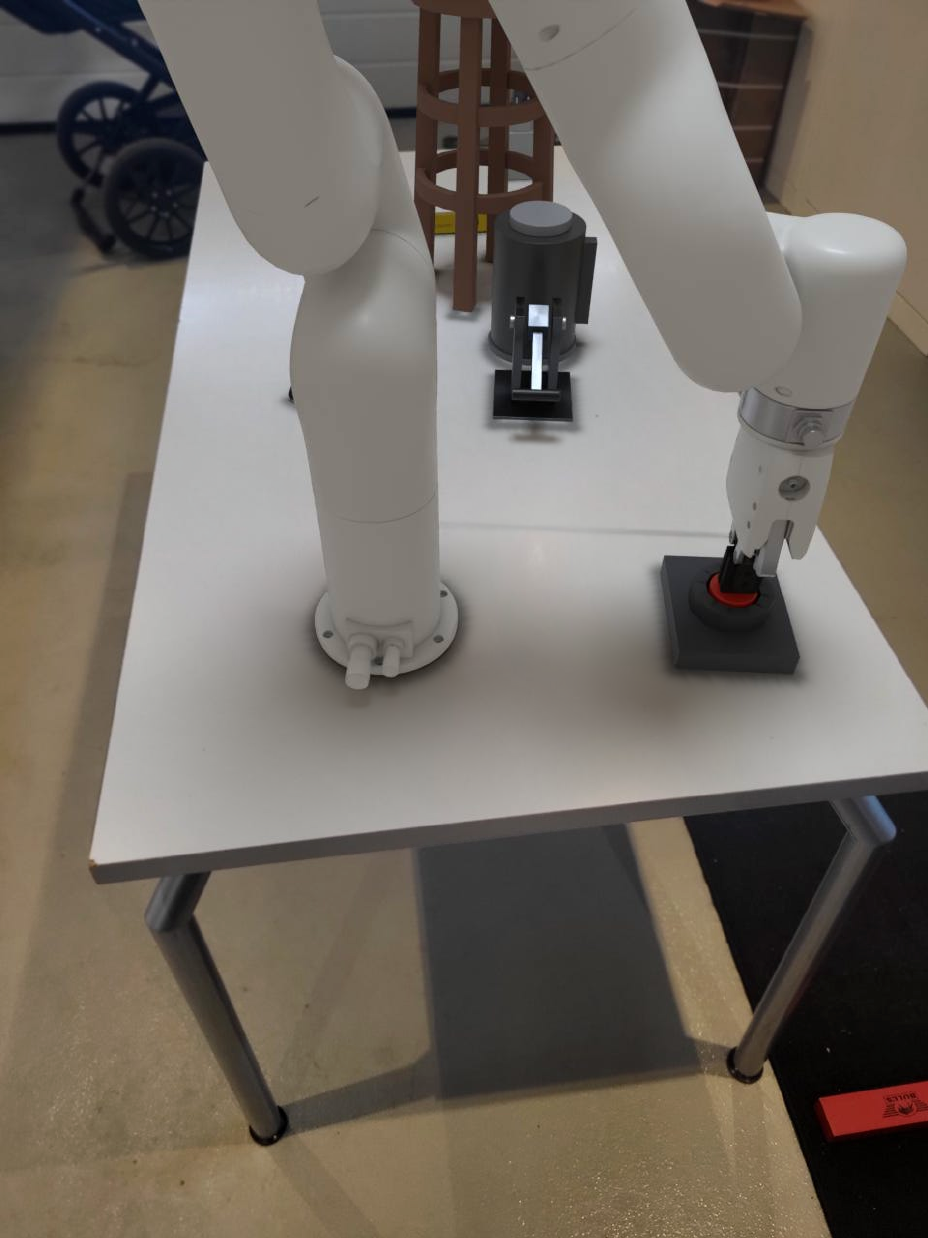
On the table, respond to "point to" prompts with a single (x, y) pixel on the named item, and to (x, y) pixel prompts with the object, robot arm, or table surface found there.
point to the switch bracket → (522, 378)
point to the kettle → (540, 273)
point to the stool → (473, 136)
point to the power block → (725, 622)
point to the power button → (730, 596)
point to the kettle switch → (537, 356)
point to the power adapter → (520, 144)
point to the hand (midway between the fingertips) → (737, 586)
